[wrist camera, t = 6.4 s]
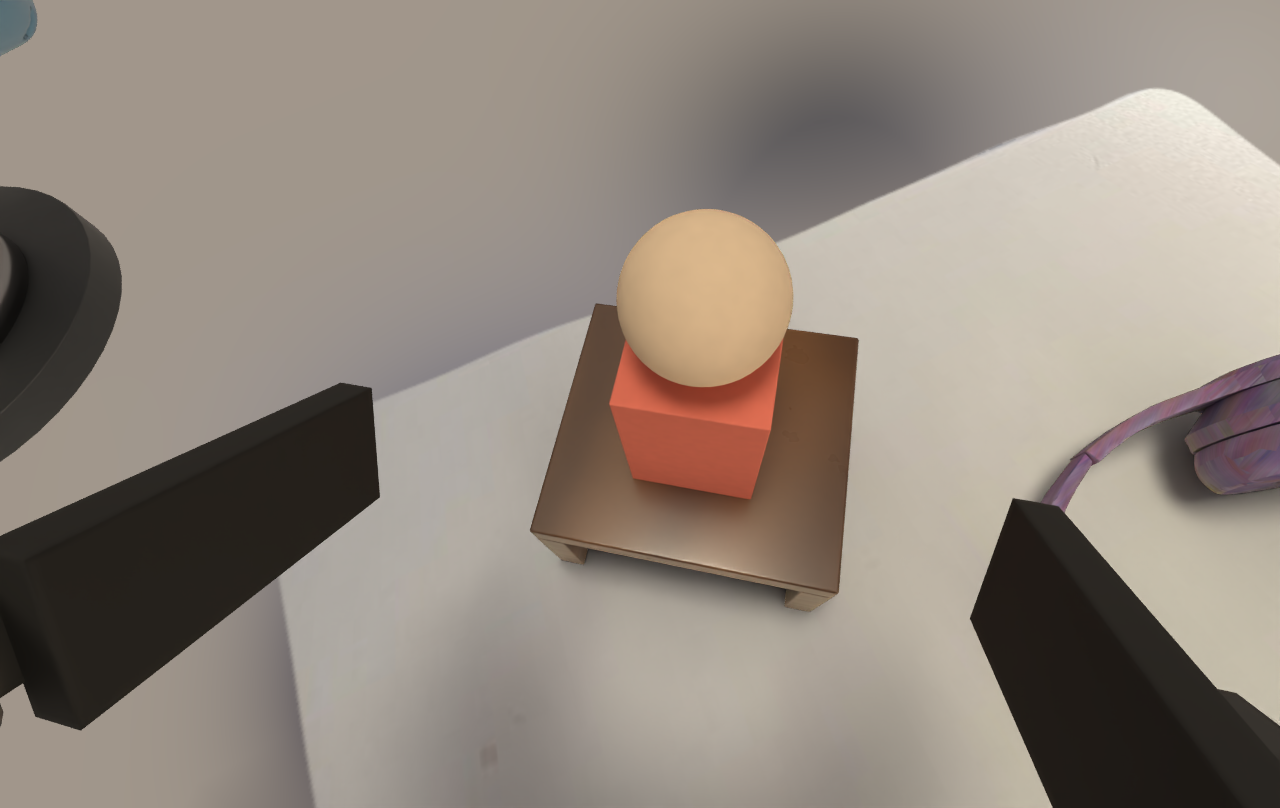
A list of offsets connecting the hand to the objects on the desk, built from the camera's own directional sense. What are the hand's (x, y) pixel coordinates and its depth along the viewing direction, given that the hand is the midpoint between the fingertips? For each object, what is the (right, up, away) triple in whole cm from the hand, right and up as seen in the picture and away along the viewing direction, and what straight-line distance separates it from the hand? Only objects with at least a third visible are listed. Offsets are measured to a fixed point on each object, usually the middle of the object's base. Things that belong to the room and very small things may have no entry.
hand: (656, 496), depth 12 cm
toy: (+2, +1, +13) cm, 13 cm away
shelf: (+3, -2, +18) cm, 19 cm away
